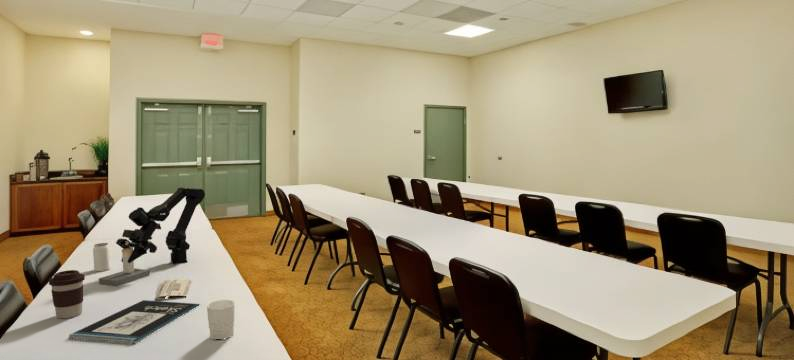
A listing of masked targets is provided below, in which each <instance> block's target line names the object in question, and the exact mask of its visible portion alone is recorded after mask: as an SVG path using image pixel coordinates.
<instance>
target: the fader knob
mask: <svg viewBox="0 0 794 360" xmlns="http://www.w3.org/2000/svg"><path fill="white" fill-rule="evenodd" d="M133 250H134V248H133V249H131V248H126V249H123V248H121V253H122V254H121V256H122V257H121V259H122V258H123V262H122V271H123V272H125V273H131V272H134V268H135V265H134V264H135V263H134V261H135V260H134V261H132V262H131V263H128V259H129V258H130V256H131V254H132V253H133Z"/></svg>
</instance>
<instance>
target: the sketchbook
mask: <svg viewBox="0 0 794 360" xmlns="http://www.w3.org/2000/svg"><path fill="white" fill-rule="evenodd" d="M199 305H200V306H201V304H200V303H191V302H190V303H189V302H173V301H161V300H147V299H143V300H141V301H138V302H136V303H134V304H132V305H130V306H128V307H126V308H124V309H121V310H119V311H117V312H114V313H113V314H111V315H109V316H106V317H103V318H102V319H100V320H98V321H96V322H93V323H92V324H89V325H88V326H85V327H83V328H81V329H79V330H76V331H74V332H72V333H70V334H68V340H69V339H71V340H73V339H74V338H75V339H74V340H75V341H78V340H79V341H81V340H82V341H83V342H84V341H85V342H90V341H92V342H94V343H95V342H96V343H98V342H99V343H102V342H103V343H105V342H107V344H113V343H114V344H116V343H118V345H119V344H120V345H127V344H130V343H131V344H130V346H132V345H133V344H132V343H137V344H138V342H139V343H140V342H142V341H144V340H145V339H147V338H148V337H147V336H149V335H150V336H152V335H153V334H152V333H154V332H155V331H157V330H158V329H160V328H162V327H164V326H165V325H167V324H169V323H170V322H172V321H173V322H175V321H176V320H175V319H177V318H178V317H180V316H182V315H183V314H185V313H187V312H188V313H190V312H191V311H190V310H192V309H193V310H195V309H197V308H198V307H199ZM197 306H198V307H197ZM196 307H197V308H196ZM194 308H195V309H194ZM193 310H192V311H193ZM189 311H190V312H189ZM188 313H187V314H188ZM185 315H186V314H185ZM183 316H184V315H183ZM183 316H182V317H183ZM180 318H181V317H180ZM178 319H179V318H178ZM178 319H177V320H178ZM174 320H175V321H174ZM173 322H172V323H173ZM170 324H171V323H170ZM170 324H169V325H170ZM167 326H168V325H167ZM165 327H166V326H165ZM165 327H164V328H165ZM162 329H163V328H162ZM160 330H161V329H160ZM157 332H158V331H157ZM155 333H156V332H155ZM155 333H154V334H155ZM151 334H152V335H151ZM150 336H149V337H150ZM146 337H147V338H146ZM72 338H73V339H72ZM76 338H78V339H76ZM144 338H145V339H144ZM84 339H86V340H84ZM87 339H89V340H87ZM143 339H144V340H143ZM95 340H97V341H95ZM98 340H99V341H98ZM141 340H142V341H141ZM108 341H110V342H109V343H108ZM111 341H113V342H111ZM119 342H121V343H119ZM122 342H124V343H122Z"/></svg>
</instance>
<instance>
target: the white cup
mask: <svg viewBox="0 0 794 360" xmlns="http://www.w3.org/2000/svg"><path fill="white" fill-rule="evenodd" d="M206 311H207V321H208V328H209V337H211V338H213V339H224V338H227V339H229V338H228V337H230V336H231V337H233V336H234V329H235V328H234V327H235V301H233V300H231V299H220V300H215V301H212V302H210V303H207V305H206ZM232 335H233V336H232ZM231 337H230V338H231ZM211 338H210V339H211ZM213 339H212V340H213ZM224 340H225V339H224Z"/></svg>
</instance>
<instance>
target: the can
mask: <svg viewBox="0 0 794 360" xmlns="http://www.w3.org/2000/svg"><path fill="white" fill-rule="evenodd" d="M92 253H93V254H92V256H93V269H94V271H95V272H105V271H109V270H111V269H112V268H111V266H112V265H111V264H112V263H111V249H110V245H109V243H108V242H100V243H96V244H94V245H93V248H92Z"/></svg>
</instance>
